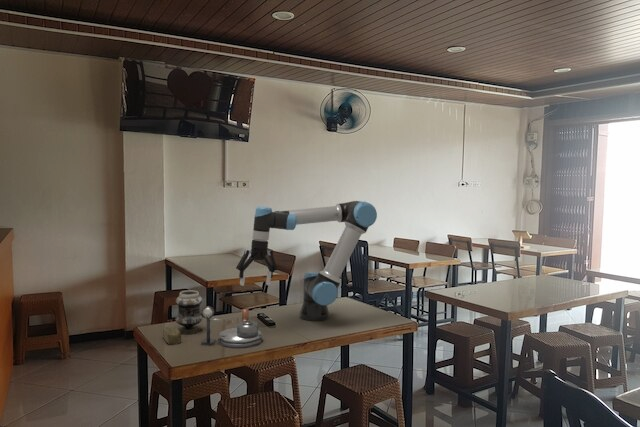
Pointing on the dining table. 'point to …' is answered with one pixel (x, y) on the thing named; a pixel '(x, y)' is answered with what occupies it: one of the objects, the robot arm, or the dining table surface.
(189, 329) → the apothecary jar
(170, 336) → the stone block
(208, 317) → the dial gauge stand
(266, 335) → the dining table surface
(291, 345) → the dining table surface
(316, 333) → the dining table surface
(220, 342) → the turntable base
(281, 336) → the dining table surface
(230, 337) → the turntable
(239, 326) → the cover
